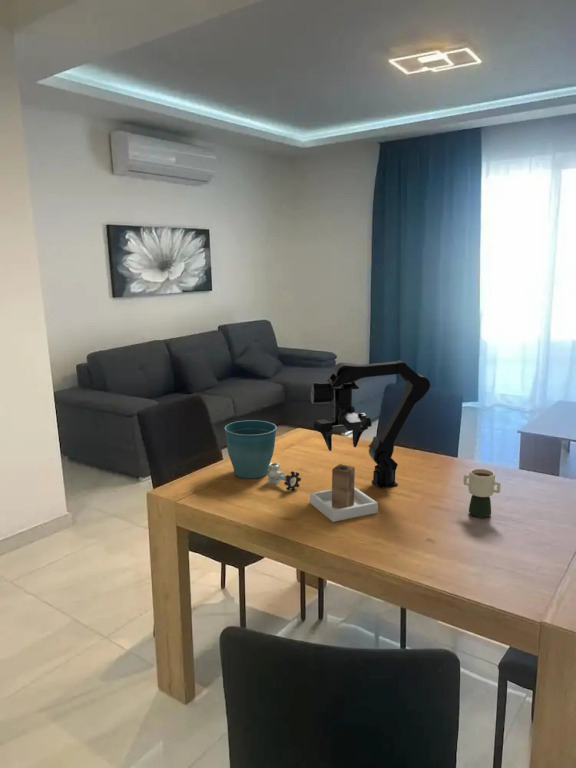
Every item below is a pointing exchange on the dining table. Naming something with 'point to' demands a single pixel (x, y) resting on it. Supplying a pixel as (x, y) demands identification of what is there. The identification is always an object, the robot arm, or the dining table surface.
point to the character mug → (481, 491)
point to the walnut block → (343, 486)
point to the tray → (360, 508)
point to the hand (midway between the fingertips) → (342, 448)
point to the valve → (282, 477)
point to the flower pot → (250, 447)
